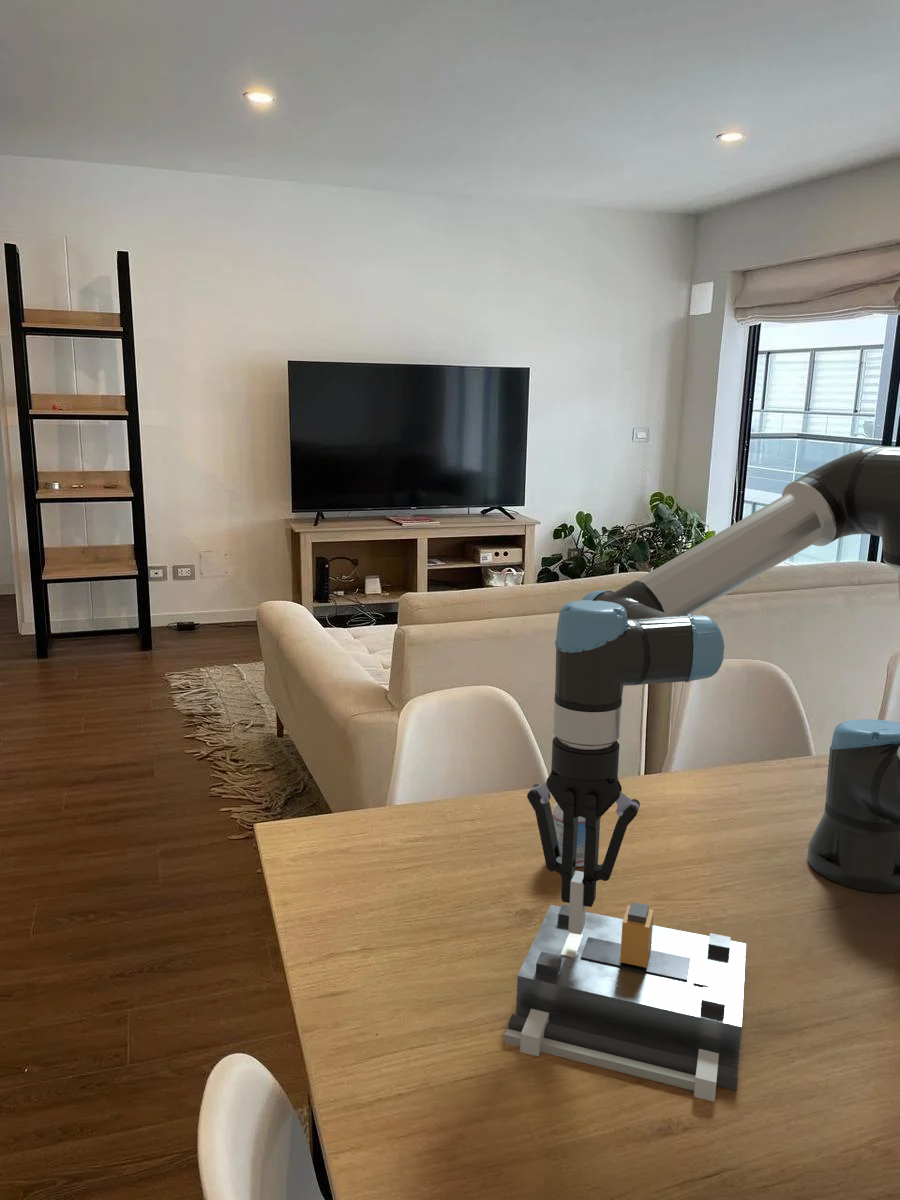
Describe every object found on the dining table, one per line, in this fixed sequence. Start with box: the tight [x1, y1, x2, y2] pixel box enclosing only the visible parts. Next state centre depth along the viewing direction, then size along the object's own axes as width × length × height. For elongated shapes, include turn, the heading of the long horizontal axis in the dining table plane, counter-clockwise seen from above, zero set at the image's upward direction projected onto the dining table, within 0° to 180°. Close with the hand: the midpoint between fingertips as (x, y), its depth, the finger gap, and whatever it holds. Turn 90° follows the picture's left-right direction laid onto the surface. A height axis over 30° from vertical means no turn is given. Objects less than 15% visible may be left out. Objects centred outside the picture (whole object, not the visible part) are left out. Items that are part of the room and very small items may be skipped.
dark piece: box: [503, 1009, 739, 1103], centre depth 103 cm, size 24×26×2 cm
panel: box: [515, 903, 747, 1070], centre depth 103 cm, size 24×16×6 cm, turn 70°
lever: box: [620, 901, 655, 968], centre depth 102 cm, size 3×4×6 cm
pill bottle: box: [552, 802, 586, 868], centre depth 135 cm, size 6×6×11 cm
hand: (576, 927), depth 104 cm, fingers closed
